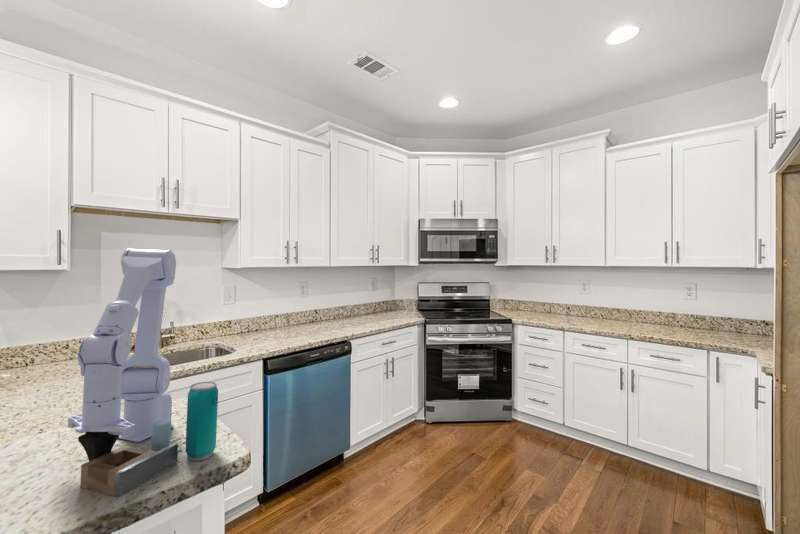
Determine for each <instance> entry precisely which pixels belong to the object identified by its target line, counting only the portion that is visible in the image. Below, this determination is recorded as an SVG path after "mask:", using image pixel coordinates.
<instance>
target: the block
mask: <svg viewBox="0 0 800 534" xmlns="http://www.w3.org/2000/svg"><path fill="white" fill-rule="evenodd" d="M155 452H156V451H151V449H145V448H140V447H136V446H131V445H125V444H124V445H123V446H120V447H118V448H115V449H114V450H113V449H112V450H111V452H109V453H107V454H105V455H102V456H100V457H98V458H96V459H93V460H91V461H89V460H88V461H87V462H85V463H82V464H81V465H80V467H81V469H80V484H79V485H80V486H79V488H82V489H84V490H85V489H86V490H89V491H94V492H97V493H101V494H105V495H109V496H114V489H115V473H116V472H118V471H120V470H122V469H124V468H126V467H128V466H130V465H131V464H133V463H135V462H137V461H139V460H141V459H143V458H145V457H147V456H149V455H151V454H153V453H155ZM114 497H115V496H114Z"/></svg>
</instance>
